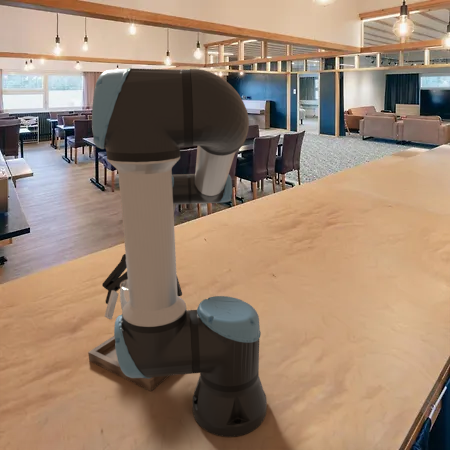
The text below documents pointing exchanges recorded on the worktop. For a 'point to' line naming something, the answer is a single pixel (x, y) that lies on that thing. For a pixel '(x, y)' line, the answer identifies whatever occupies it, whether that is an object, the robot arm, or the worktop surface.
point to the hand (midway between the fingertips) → (134, 320)
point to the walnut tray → (108, 360)
